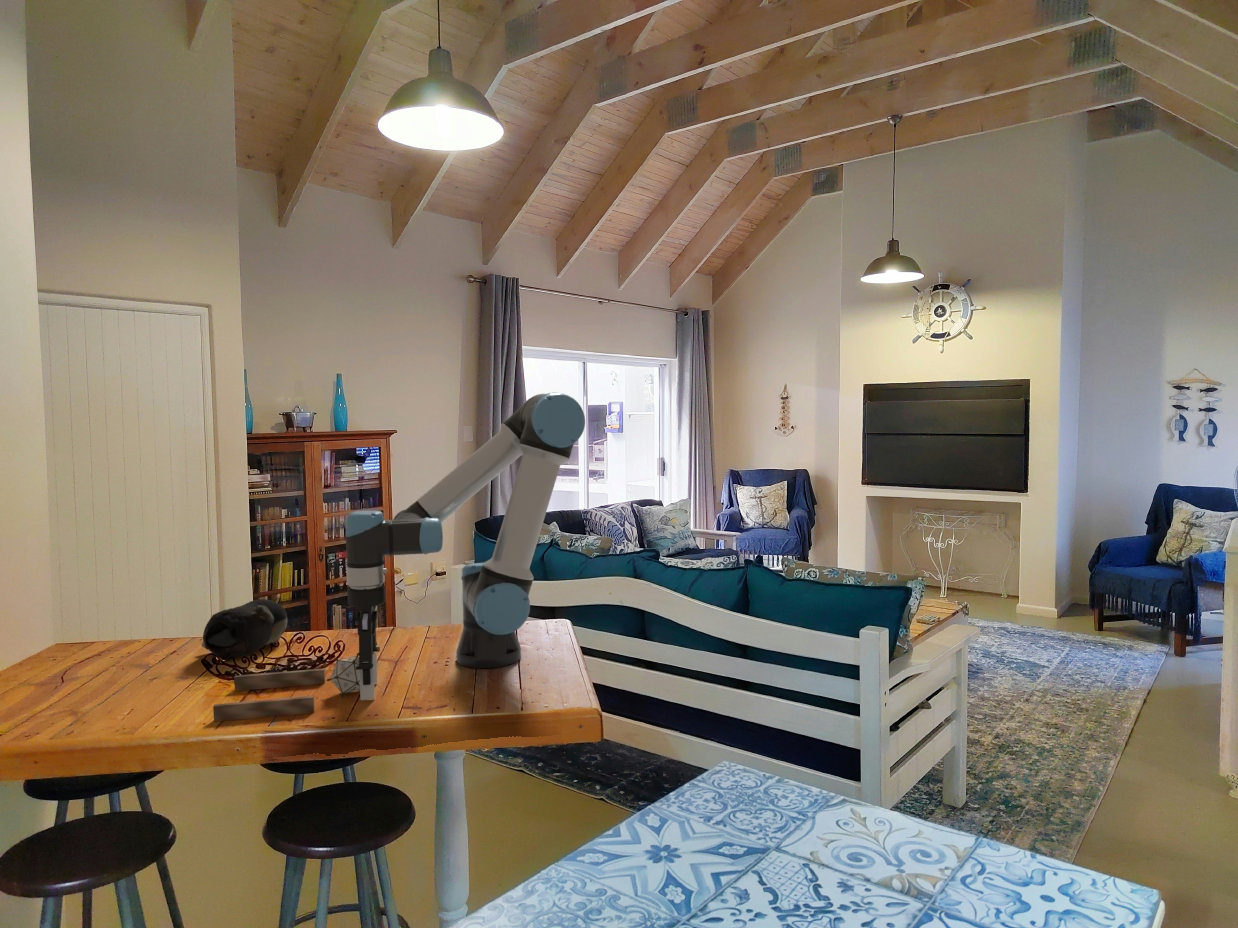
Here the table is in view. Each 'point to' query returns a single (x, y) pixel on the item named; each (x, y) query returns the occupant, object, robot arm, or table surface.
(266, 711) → the walnut channel
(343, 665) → the game die
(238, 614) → the black rounded lump
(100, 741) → the table surface
